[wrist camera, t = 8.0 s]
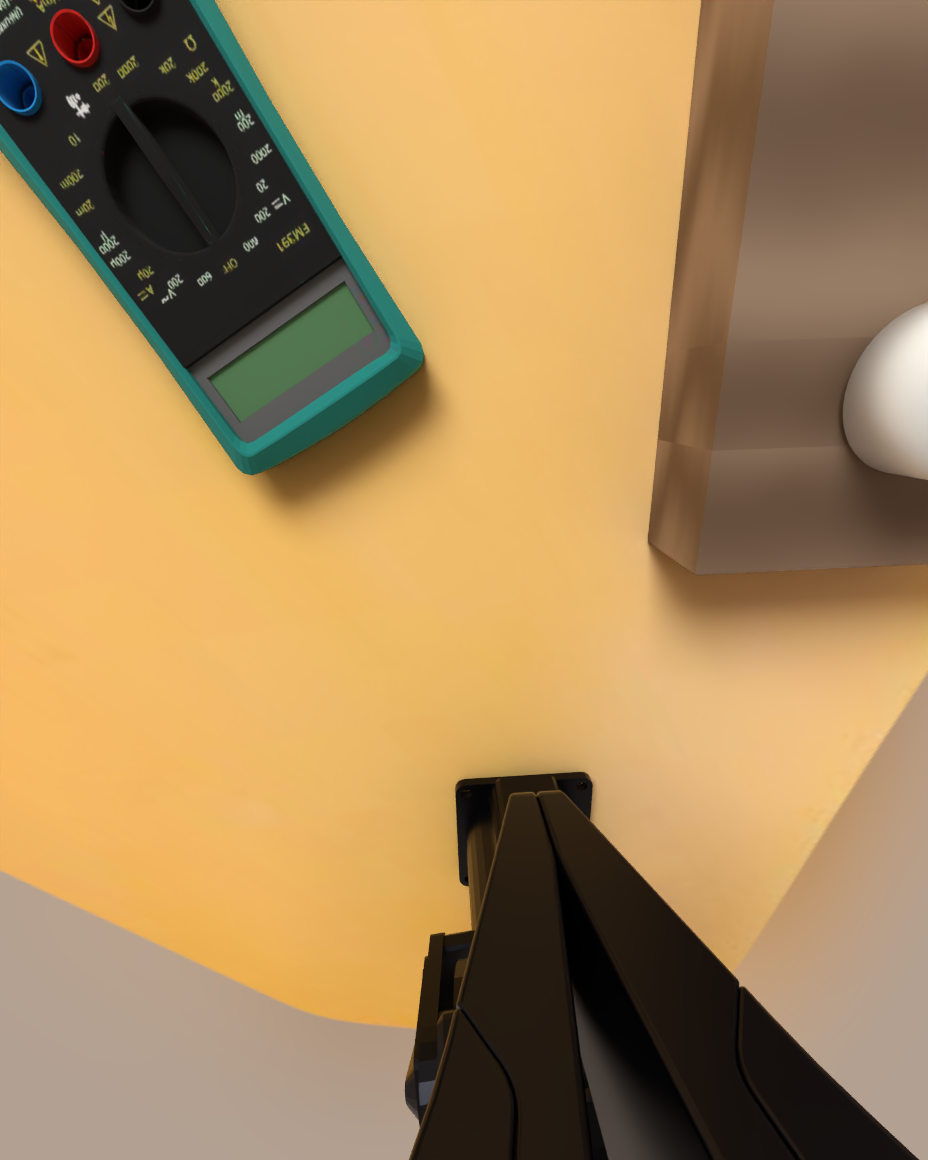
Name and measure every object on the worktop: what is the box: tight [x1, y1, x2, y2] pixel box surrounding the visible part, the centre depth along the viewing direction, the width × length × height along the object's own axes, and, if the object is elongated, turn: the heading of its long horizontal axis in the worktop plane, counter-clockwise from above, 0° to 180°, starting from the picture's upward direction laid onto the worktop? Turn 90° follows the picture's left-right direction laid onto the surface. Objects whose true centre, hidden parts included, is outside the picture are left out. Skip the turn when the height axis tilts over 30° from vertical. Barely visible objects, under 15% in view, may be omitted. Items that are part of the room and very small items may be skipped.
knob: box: [843, 302, 928, 480], centre depth 15 cm, size 5×5×7 cm
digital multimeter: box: [0, 0, 424, 475], centre depth 15 cm, size 7×15×3 cm, turn 31°
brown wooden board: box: [648, 0, 928, 575], centre depth 15 cm, size 24×12×4 cm, turn 2°
